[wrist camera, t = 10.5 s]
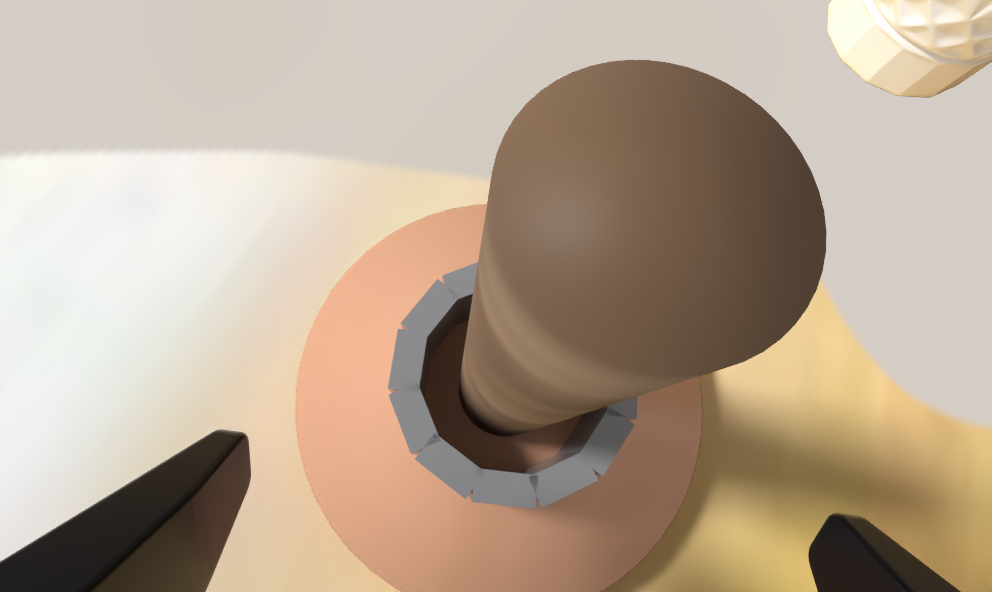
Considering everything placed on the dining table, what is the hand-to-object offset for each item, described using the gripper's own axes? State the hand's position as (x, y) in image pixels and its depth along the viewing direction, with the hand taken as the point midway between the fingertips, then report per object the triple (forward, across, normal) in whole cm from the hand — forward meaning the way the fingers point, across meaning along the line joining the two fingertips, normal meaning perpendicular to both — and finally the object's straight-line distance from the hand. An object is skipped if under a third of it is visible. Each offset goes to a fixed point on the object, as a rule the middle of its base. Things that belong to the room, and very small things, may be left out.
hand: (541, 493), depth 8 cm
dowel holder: (+9, 0, +5) cm, 10 cm away
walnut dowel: (+8, 0, +4) cm, 9 cm away
